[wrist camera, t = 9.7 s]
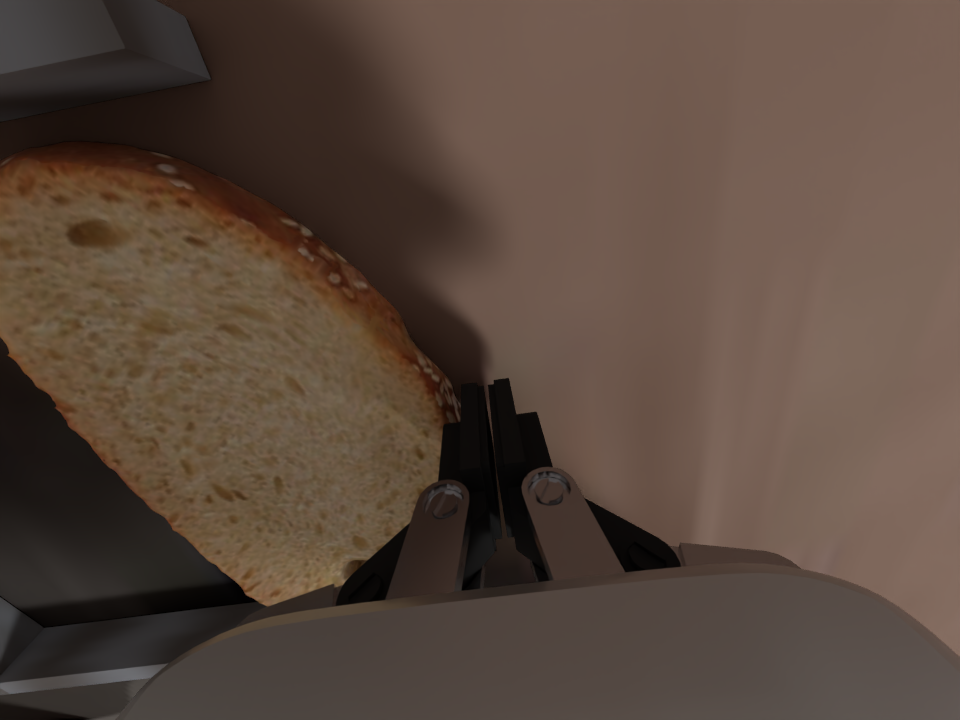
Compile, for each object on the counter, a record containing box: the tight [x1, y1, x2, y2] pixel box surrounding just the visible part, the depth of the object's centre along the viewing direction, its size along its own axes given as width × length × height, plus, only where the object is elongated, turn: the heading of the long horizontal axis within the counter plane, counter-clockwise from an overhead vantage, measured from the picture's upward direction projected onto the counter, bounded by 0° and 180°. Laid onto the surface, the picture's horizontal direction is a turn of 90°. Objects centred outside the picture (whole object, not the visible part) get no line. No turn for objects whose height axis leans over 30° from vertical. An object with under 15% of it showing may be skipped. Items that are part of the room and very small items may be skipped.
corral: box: [0, 0, 267, 695], centre depth 13 cm, size 23×24×2 cm
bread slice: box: [0, 141, 461, 607], centre depth 13 cm, size 18×18×4 cm
